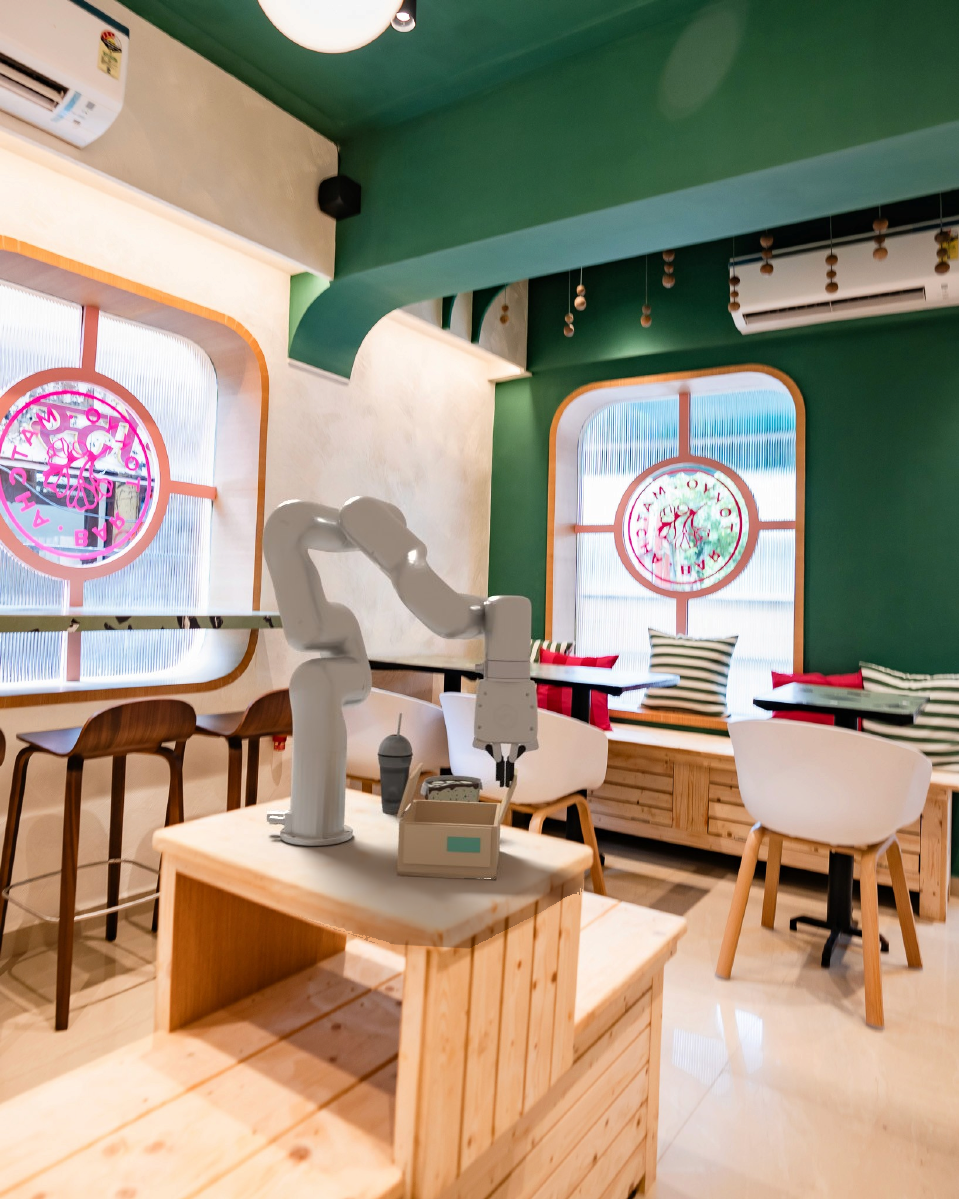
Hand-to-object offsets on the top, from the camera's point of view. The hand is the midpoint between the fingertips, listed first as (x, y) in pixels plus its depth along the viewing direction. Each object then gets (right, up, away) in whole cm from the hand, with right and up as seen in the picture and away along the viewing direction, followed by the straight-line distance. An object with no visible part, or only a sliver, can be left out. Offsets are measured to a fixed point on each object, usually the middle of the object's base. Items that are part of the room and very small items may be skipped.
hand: (504, 785), depth 129 cm
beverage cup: (-22, -13, +34) cm, 42 cm away
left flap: (-15, -1, +1) cm, 15 cm away
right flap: (0, -1, 0) cm, 1 cm away
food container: (-11, -13, +18) cm, 25 cm away
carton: (-9, -12, 0) cm, 15 cm away
